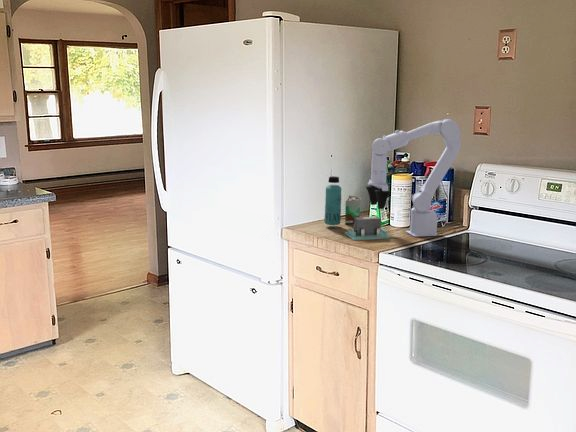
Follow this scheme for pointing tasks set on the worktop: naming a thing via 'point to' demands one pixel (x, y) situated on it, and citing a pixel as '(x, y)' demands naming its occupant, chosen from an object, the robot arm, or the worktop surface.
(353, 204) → the food container
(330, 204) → the beverage bottle
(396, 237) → the worktop surface
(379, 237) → the tray
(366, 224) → the dark grey block
